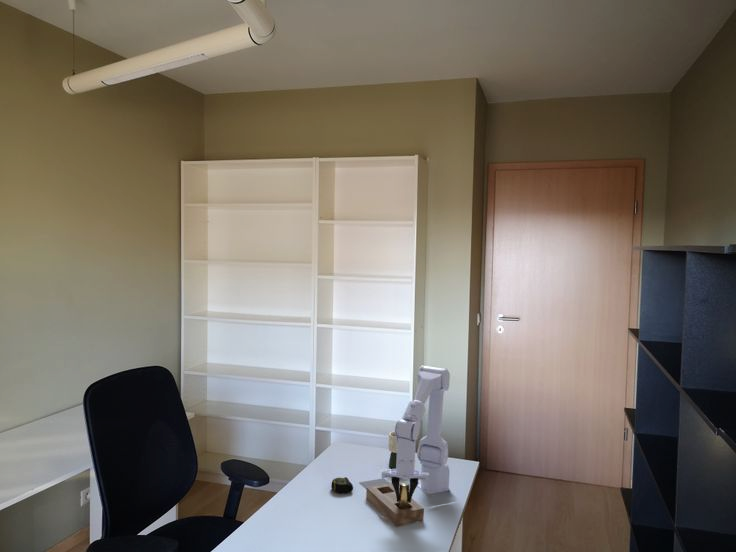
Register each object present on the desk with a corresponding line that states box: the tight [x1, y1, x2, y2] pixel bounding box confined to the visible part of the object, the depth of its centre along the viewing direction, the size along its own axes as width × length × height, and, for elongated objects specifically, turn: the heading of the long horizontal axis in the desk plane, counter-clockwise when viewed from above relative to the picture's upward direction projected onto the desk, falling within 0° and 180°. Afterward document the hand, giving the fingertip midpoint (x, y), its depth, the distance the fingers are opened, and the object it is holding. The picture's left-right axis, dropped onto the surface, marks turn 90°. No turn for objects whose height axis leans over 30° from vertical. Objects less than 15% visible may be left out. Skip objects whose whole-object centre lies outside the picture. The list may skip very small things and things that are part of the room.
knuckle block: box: [365, 482, 425, 528], centre depth 187 cm, size 10×20×4 cm, turn 27°
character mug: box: [388, 430, 397, 469], centre depth 221 cm, size 11×7×13 cm, turn 144°
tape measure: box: [330, 477, 354, 494], centre depth 199 cm, size 7×7×4 cm
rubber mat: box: [358, 477, 390, 491], centre depth 203 cm, size 10×10×1 cm
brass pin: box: [399, 482, 410, 510], centre depth 181 cm, size 3×3×8 cm
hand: (403, 500), depth 181 cm, fingers closed on brass pin, 3 cm apart
